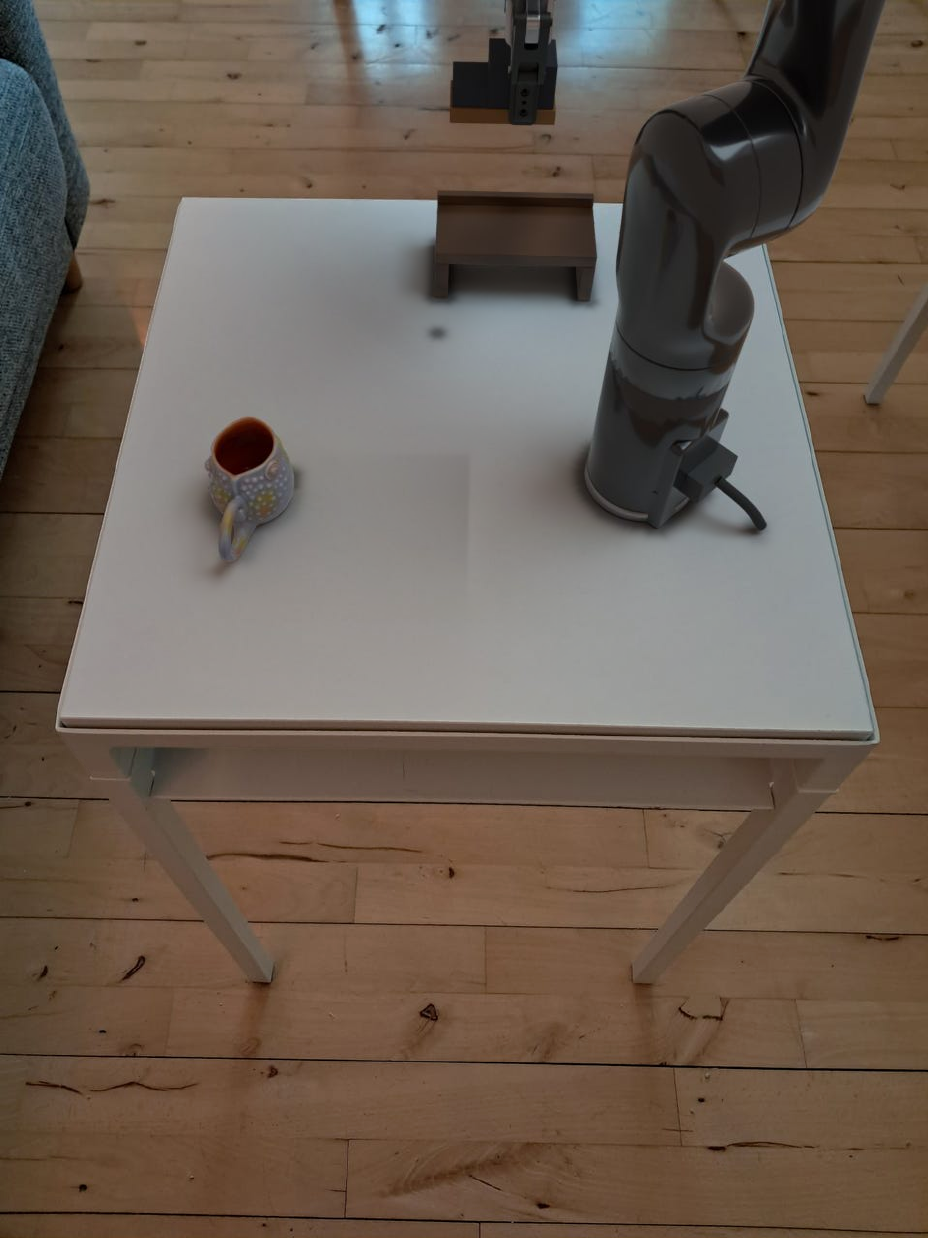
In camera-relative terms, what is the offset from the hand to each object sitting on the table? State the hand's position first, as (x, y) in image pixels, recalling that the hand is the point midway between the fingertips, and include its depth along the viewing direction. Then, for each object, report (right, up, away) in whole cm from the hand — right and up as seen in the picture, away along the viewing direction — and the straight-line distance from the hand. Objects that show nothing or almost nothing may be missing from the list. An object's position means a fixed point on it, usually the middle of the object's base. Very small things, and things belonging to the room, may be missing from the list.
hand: (521, 104), depth 76 cm
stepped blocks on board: (-2, 0, 0) cm, 2 cm away
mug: (-23, -33, +3) cm, 40 cm away
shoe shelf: (0, -7, +19) cm, 20 cm away
